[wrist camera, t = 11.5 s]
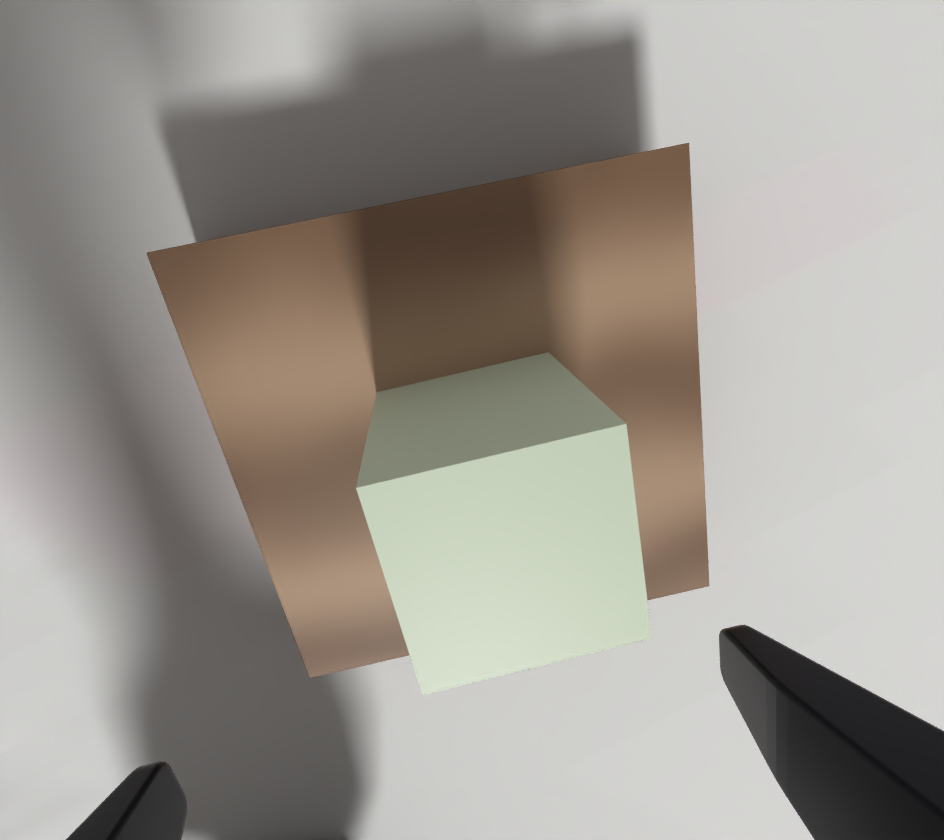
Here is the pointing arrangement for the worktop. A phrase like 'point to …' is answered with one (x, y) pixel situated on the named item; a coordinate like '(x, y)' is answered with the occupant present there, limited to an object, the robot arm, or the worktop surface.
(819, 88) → the worktop surface
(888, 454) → the worktop surface
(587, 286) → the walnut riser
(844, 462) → the worktop surface
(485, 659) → the sage block
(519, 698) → the worktop surface
